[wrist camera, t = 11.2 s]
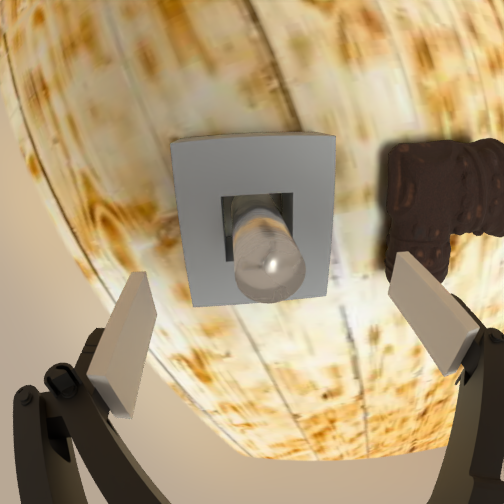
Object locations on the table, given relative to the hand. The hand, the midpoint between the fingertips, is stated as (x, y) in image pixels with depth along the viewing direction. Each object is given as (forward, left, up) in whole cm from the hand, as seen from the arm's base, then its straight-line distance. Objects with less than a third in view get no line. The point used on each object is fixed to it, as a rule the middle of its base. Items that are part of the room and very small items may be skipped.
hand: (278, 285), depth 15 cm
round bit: (0, 0, -14) cm, 14 cm away
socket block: (0, 0, -14) cm, 14 cm away
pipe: (0, +20, -14) cm, 25 cm away
